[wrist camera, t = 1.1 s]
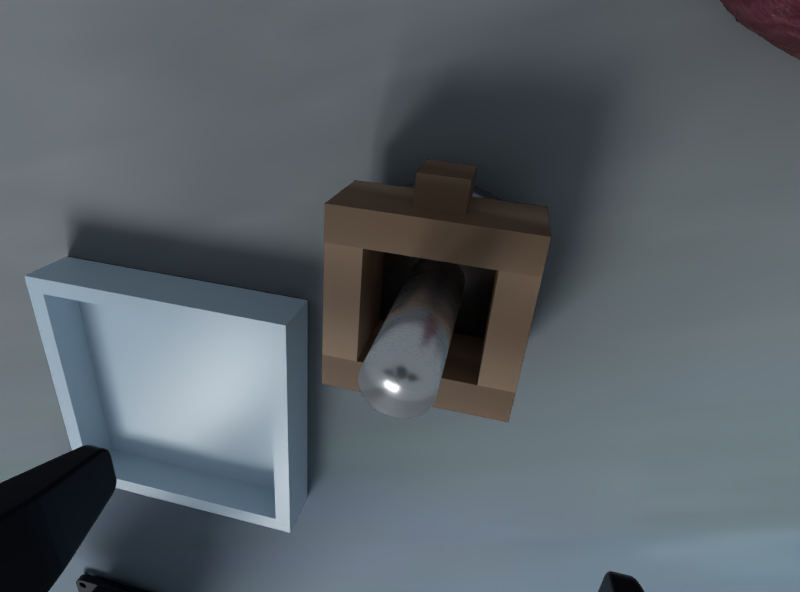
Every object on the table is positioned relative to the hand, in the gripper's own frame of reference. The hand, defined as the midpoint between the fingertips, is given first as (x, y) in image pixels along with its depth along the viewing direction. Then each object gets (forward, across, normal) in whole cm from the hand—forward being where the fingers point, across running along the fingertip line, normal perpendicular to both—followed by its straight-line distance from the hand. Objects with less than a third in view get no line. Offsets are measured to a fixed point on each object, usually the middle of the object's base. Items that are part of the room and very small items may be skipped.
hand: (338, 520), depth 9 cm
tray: (+12, +11, +8) cm, 18 cm away
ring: (+11, 0, 0) cm, 11 cm away
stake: (+12, 0, 0) cm, 12 cm away
